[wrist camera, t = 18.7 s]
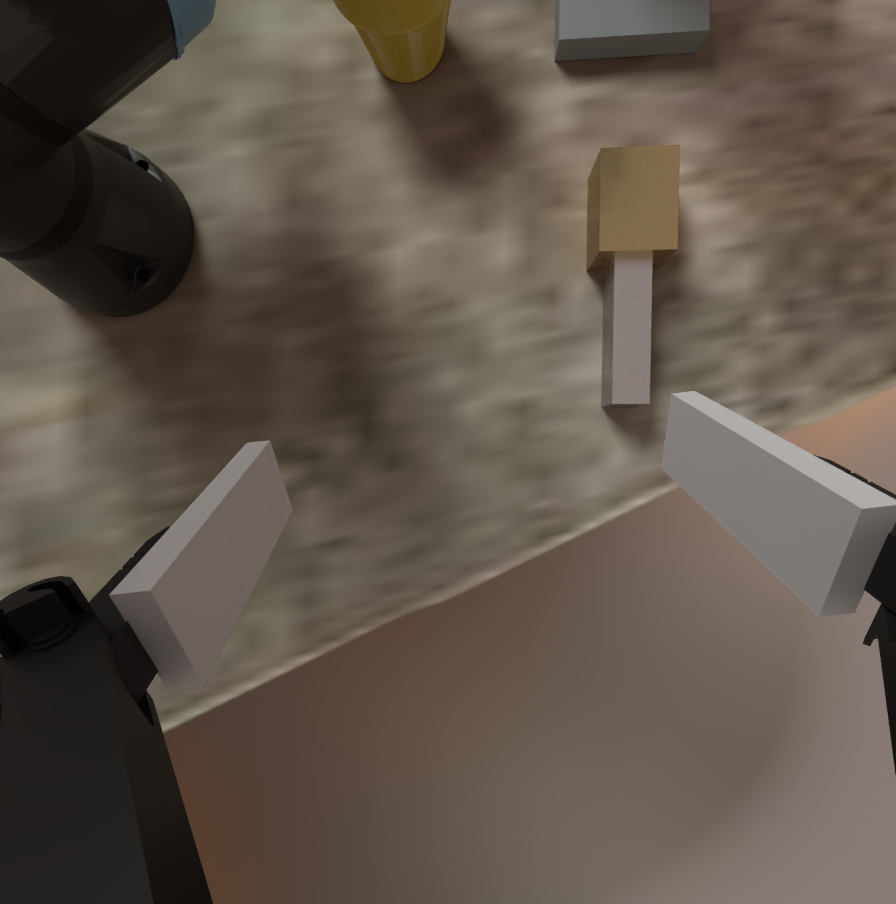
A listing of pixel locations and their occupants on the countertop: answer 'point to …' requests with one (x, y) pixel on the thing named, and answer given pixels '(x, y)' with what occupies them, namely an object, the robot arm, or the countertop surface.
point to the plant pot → (400, 34)
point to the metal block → (630, 257)
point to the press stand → (629, 28)
